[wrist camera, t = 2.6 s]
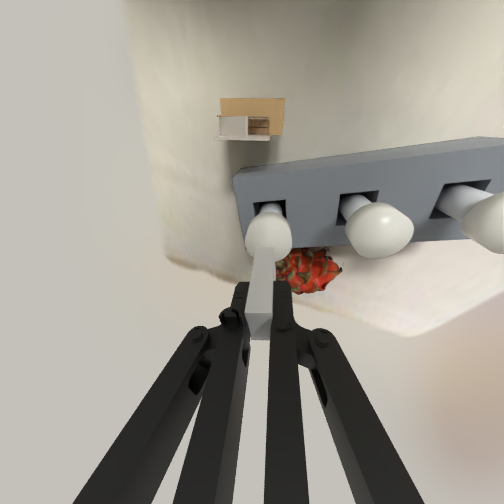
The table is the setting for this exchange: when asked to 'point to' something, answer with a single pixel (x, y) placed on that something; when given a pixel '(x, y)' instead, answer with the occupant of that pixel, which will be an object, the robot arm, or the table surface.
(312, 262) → the dragon fruit
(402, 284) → the table surface
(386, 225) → the knob mid
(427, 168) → the mount
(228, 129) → the architectural model
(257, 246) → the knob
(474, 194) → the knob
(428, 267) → the table surface
